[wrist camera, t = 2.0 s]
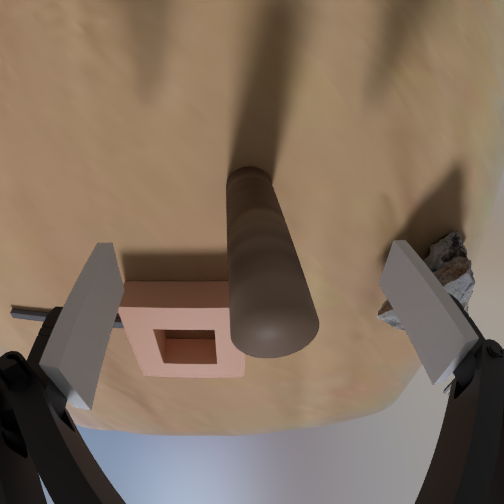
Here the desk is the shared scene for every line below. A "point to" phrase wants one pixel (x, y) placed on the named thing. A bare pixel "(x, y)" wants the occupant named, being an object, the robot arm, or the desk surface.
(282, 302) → the dowel
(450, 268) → the mineral specimen
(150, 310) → the pink square frame
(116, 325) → the strip
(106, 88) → the desk surface
